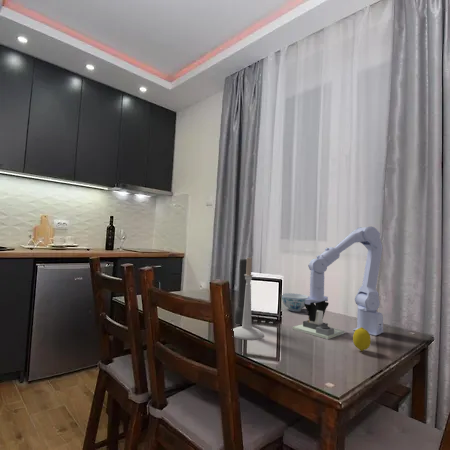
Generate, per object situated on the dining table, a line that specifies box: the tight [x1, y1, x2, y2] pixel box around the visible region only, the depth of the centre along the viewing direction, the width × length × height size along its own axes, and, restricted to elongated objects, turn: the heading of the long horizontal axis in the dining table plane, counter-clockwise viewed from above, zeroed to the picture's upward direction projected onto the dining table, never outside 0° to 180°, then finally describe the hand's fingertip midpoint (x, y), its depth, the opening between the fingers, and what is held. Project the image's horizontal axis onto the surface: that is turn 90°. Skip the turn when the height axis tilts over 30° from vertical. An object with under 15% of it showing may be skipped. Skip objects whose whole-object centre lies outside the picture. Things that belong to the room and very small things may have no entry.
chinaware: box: [281, 292, 309, 312], centre depth 168 cm, size 15×15×8 cm
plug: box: [308, 310, 324, 325], centre depth 130 cm, size 5×3×7 cm, turn 42°
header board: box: [292, 319, 345, 340], centre depth 128 cm, size 16×13×3 cm
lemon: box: [352, 327, 372, 352], centre depth 106 cm, size 6×6×8 cm
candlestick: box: [232, 257, 264, 341], centre depth 120 cm, size 13×13×30 cm
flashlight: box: [234, 258, 247, 326], centre depth 136 cm, size 7×28×7 cm
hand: (316, 320), depth 130 cm, fingers open, 6 cm apart
